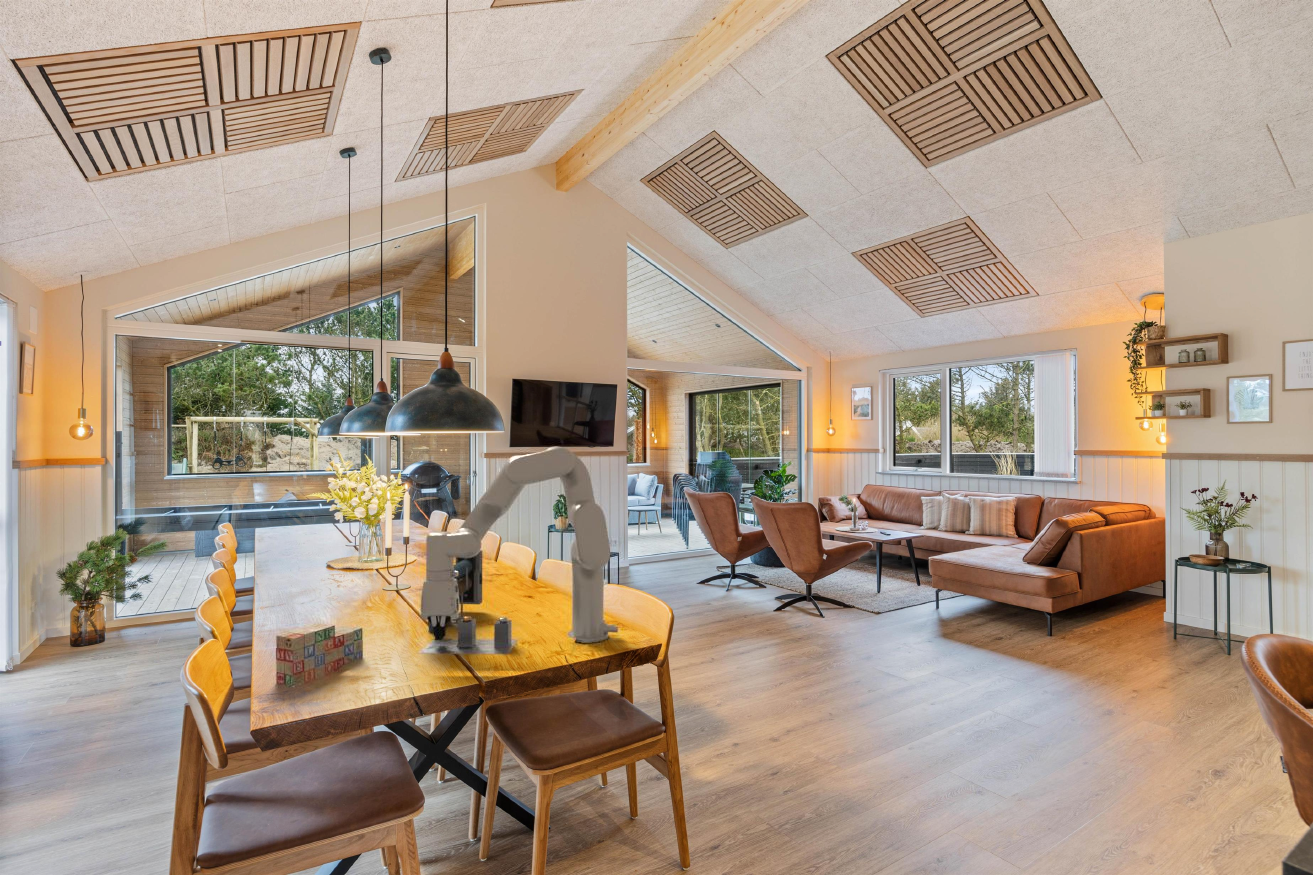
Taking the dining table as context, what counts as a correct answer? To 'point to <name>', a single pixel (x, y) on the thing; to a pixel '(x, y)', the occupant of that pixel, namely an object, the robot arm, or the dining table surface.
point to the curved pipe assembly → (466, 584)
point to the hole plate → (452, 647)
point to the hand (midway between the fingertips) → (439, 638)
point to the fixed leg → (502, 633)
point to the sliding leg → (466, 632)
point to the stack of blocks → (315, 652)
